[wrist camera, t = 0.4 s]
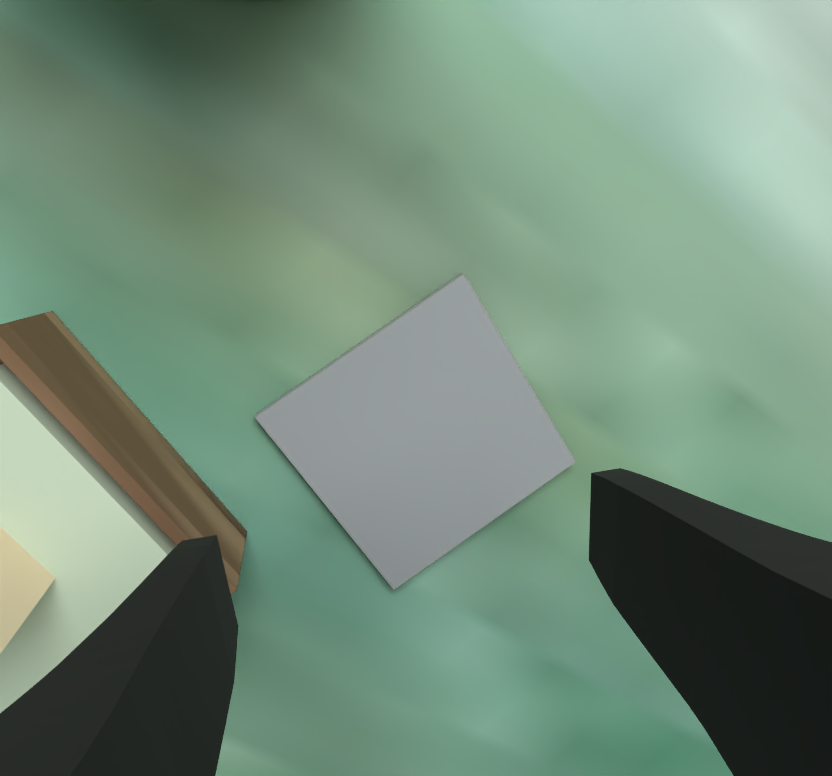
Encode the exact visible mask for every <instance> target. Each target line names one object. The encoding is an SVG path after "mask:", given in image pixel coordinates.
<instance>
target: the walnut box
mask: <svg viewBox="0 0 832 776" xmlns="http://www.w3.org/2000/svg"><path fill="white" fill-rule="evenodd" d="M2 364H5V365H6V366H7V367H8V368H9V369H10V370H11V371H12V372H13V373H14V374H15V375H16V376H17V378H18V379H19V380H20V381H21V382H22V383H23V384H24V385H25V386H26V387H27V388H28V389H29V390H30V391H31V392H32V393H33V394H34V395H35V397H36V398H37V399H38V400H39V401H40V402H41V403H42V404H43V405H44V406H45V407H46V408H47V409H48V410H49V411H50V412H51V413H52V414H53V415H54V417H55V418H56V419H57V420H58V421H59V422H60V423H61V424H62V425H63V426H64V427H65V428H66V429H67V430H68V431H69V432H70V433H71V434H72V436H73V437H74V438H75V439H76V440H77V441H78V442H79V443H80V444H81V445H82V446H83V447H84V448H85V449H86V450H87V451H88V452H89V453H90V455H91V456H92V457H93V458H94V459H95V460H96V461H97V462H98V463H99V464H100V465H101V466H102V467H103V468H104V469H105V470H106V471H107V472H108V473H109V475H110V476H111V477H112V478H113V479H114V480H115V481H116V482H117V483H118V484H119V485H120V486H121V487H122V488H123V489H124V490H125V491H126V492H127V494H128V495H129V496H130V497H131V498H132V499H133V500H134V501H135V502H136V503H137V504H138V505H139V506H140V507H141V508H142V509H143V510H144V511H145V512H146V514H147V515H148V516H149V517H150V518H151V519H152V520H153V521H154V522H155V523H156V524H157V525H158V526H159V527H160V528H161V529H162V530H163V531H164V533H165V534H166V535H167V536H168V537H169V538H170V539H171V540H172V541H173V542H174V543H175V544H176V545H178V544H179V543H180V542H181V541H183V540H189V539H195V538H201V537H207V536H213V535H217V538H218V542H219V546H220V551H221V555H222V559H223V564H224V568H225V572H226V576H227V581H228V585H229V589H230V594H232V593H233V592H235V591H236V590H237V587H238V581H239V575H240V570H241V564H242V558H243V552H244V546H245V541H246V535H247V531H246V530H245V529H244V527H243V526H242V525H241V524H240V523H239V522H238V521H237V519H236V518H235V517H234V516H233V515H232V514H231V513H230V512H229V510H228V509H227V508H226V507H225V506H224V505H223V504H222V502H221V501H220V500H219V499H218V498H217V497H216V496H215V495H214V493H213V492H212V491H211V490H210V489H209V488H208V487H207V485H206V484H205V483H204V482H203V481H202V480H201V479H200V478H199V476H198V475H197V474H196V473H195V472H194V471H193V470H192V468H191V467H190V466H189V465H188V464H187V463H186V462H185V461H184V459H183V458H182V457H181V456H180V455H179V454H178V453H177V451H176V450H175V449H174V448H173V447H172V446H171V445H170V444H169V442H168V441H167V440H166V439H165V438H164V437H163V436H162V435H161V433H160V432H159V431H158V430H157V429H156V428H155V427H154V425H153V424H152V423H151V422H150V421H149V420H148V419H147V418H146V416H145V415H144V414H143V413H142V412H141V411H140V410H139V408H138V407H137V406H136V405H135V404H134V403H133V402H132V401H131V399H130V398H129V397H128V396H127V395H126V394H125V393H124V391H123V390H122V389H121V388H120V387H119V386H118V385H117V384H116V382H115V381H114V380H113V379H112V378H111V377H110V376H109V374H108V373H107V372H106V371H105V370H104V369H103V368H102V367H101V365H100V364H99V363H98V362H97V361H96V360H95V359H94V358H93V356H92V355H91V354H90V353H89V352H88V351H87V350H86V348H85V347H84V346H83V345H82V344H81V343H80V342H79V341H78V339H77V338H76V337H75V336H74V335H73V334H72V333H71V331H70V330H69V329H68V328H67V327H66V326H65V325H64V324H63V322H62V321H61V320H60V319H59V318H58V317H57V316H56V314H55V313H54V312H53V311H51V312H47V313H43V314H39V315H35V316H32V317H28V318H24V319H20V320H16V321H13V322H9V323H5V324H1V325H0V365H2Z"/></svg>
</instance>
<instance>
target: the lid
mask: <svg viewBox="0 0 832 776" xmlns="http://www.w3.org/2000/svg"><path fill="white" fill-rule="evenodd" d="M176 546H177V545H176V544H175V543H174V542H173V541H172V540H171V539H170V538H169V537H168V536H167V535H166V534H165V533H164V531H163V530H162V529H161V528H160V527H159V526H158V525H157V524H156V523H155V522H154V521H153V520H152V519H151V518H150V517H149V516H148V515H147V514H146V512H145V511H144V510H143V509H142V508H141V507H140V506H139V505H138V504H137V503H136V502H135V501H134V500H133V499H132V498H131V497H130V496H129V495H128V494H127V492H126V491H125V490H124V489H123V488H122V487H121V486H120V485H119V484H118V483H117V482H116V481H115V480H114V479H113V478H112V477H111V476H110V475H109V473H108V472H107V471H106V470H105V469H104V468H103V467H102V466H101V465H100V464H99V463H98V462H97V461H96V460H95V459H94V458H93V457H92V456H91V455H90V453H89V452H88V451H87V450H86V449H85V448H84V447H83V446H82V445H81V444H80V443H79V442H78V441H77V440H76V439H75V438H74V437H73V436H72V434H71V433H70V432H69V431H68V430H67V429H66V428H65V427H64V426H63V425H62V424H61V423H60V422H59V421H58V420H57V419H56V418H55V417H54V415H53V414H52V413H51V412H50V411H49V410H48V409H47V408H46V407H45V406H44V405H43V404H42V403H41V402H40V401H39V400H38V399H37V398H36V397H35V395H34V394H33V393H32V392H31V391H30V390H29V389H28V388H27V387H26V386H25V385H24V384H23V383H22V382H21V381H20V380H19V379H18V378H17V376H16V375H15V374H14V373H13V372H12V371H11V370H10V369H9V368H8V367H7V366H6V365H5V364H2V365H0V713H1V712H2V711H4V710H5V709H6V708H7V707H8V706H10V705H11V704H12V703H13V702H15V701H16V700H17V699H18V698H20V697H21V696H22V695H23V694H24V693H26V692H27V691H28V690H29V689H30V688H32V687H33V686H34V685H35V684H36V683H37V682H39V681H40V680H41V679H42V678H43V677H44V676H46V675H47V674H48V673H49V672H50V671H51V670H52V669H54V668H55V667H56V666H57V665H58V664H59V663H60V662H61V661H62V660H63V659H64V658H65V657H67V656H68V655H69V654H70V653H71V652H72V651H73V650H74V649H75V648H76V647H77V646H78V645H79V644H80V643H81V642H82V641H83V640H84V639H86V638H87V637H88V636H89V635H90V634H91V633H92V632H93V631H94V630H95V629H96V628H97V627H98V626H99V625H100V624H101V623H102V622H103V621H104V620H106V619H107V618H108V617H109V616H110V615H111V614H112V613H113V612H114V611H115V609H116V608H117V607H118V606H119V605H120V604H121V603H122V602H123V601H124V600H125V599H126V598H127V597H128V596H129V595H130V594H131V593H132V592H133V591H134V590H135V589H136V588H137V587H138V586H139V585H140V584H141V583H142V582H143V580H144V579H145V578H146V577H147V576H148V575H149V574H150V573H151V572H152V571H153V570H154V569H155V568H156V567H157V566H158V564H159V563H160V562H161V561H162V560H163V559H164V558H165V557H166V556H167V555H168V554H169V553H170V552H171V551H172V550H173V549H174V548H175V547H176Z"/></svg>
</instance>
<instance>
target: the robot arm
mask: <svg viewBox="0 0 832 776" xmlns="http://www.w3.org/2000/svg"><path fill="white" fill-rule="evenodd" d="M589 561H590V563H591V565H592V567H593V569H594V570H595V572H596V574H597V576H598V578H599V580H600V582H601V584H602V585H603V587H604V589H605V590H606V592H607V594H608V596H609V597H610V599H611V601H612V603H613V604H614V606H615V607H616V608H617V610H618V611H619V613H620V614H621V615H622V617H623V618H624V619H625V621H626V622H627V624H628V625H629V626H630V628H631V629H632V630H633V632H634V633H635V634H636V636H637V637H638V638H639V640H640V641H641V642H642V644H643V645H644V646H645V648H646V649H647V650H648V652H649V653H650V654H651V656H652V657H653V658H654V660H655V661H656V662H657V664H658V665H659V666H660V668H661V669H662V670H663V672H664V673H665V674H666V676H667V677H668V678H669V680H670V681H671V682H672V684H673V685H674V686H675V688H676V689H677V690H678V692H679V693H680V694H681V696H682V697H683V698H684V700H685V701H686V702H687V704H688V705H689V707H690V708H691V710H692V711H693V712H694V714H695V715H696V717H697V718H698V720H699V721H700V723H701V724H702V725H703V727H704V728H705V730H706V731H707V733H708V735H709V736H710V738H711V740H712V741H713V743H714V745H715V746H716V748H717V749H718V751H719V753H720V754H721V756H722V758H723V759H724V761H725V762H726V764H727V766H728V767H729V769H730V771H731V772H732V774H733V775H734V776H832V542H828V541H824V540H821V539H817V538H814V537H810V536H807V535H804V534H801V533H797V532H794V531H791V530H788V529H785V528H782V527H779V526H776V525H773V524H770V523H767V522H765V521H762V520H759V519H756V518H753V517H750V516H747V515H745V514H742V513H739V512H736V511H734V510H731V509H728V508H726V507H723V506H720V505H718V504H715V503H713V502H710V501H707V500H705V499H702V498H700V497H697V496H695V495H692V494H690V493H687V492H684V491H682V490H679V489H677V488H674V487H672V486H669V485H667V484H664V483H662V482H659V481H656V480H654V479H651V478H648V477H646V476H643V475H640V474H637V473H634V472H631V471H628V470H624V469H621V468H619V469H613V470H607V471H601V472H595V473H591V503H590V538H589ZM237 634H238V624H237V619H236V615H235V611H234V607H233V602H232V598H231V594H230V589H229V585H228V581H227V576H226V572H225V568H224V564H223V559H222V555H221V551H220V546H219V542H218V538H217V535H213V536H207V537H201V538H195V539H189V540H183V541H181V542H180V543H179V544H178V545H177V546H176V547H175V548H174V549H173V550H172V551H171V552H170V553H169V554H168V555H167V556H166V557H165V558H164V559H163V560H162V561H161V562H160V563H159V564H158V566H157V567H156V568H155V569H154V570H153V571H152V572H151V573H150V574H149V575H148V576H147V577H146V578H145V579H144V580H143V582H142V583H141V584H140V585H139V586H138V587H137V588H136V589H135V590H134V591H133V592H132V593H131V594H130V595H129V596H128V597H127V598H126V599H125V600H124V601H123V602H122V603H121V604H120V605H119V606H118V607H117V608H116V609H115V611H114V612H113V613H112V614H111V615H110V616H109V617H108V618H107V619H106V620H104V621H103V622H102V623H101V624H100V625H99V626H98V627H97V628H96V629H95V630H94V631H93V632H92V633H91V634H90V635H89V636H88V637H87V638H86V639H84V640H83V641H82V642H81V643H80V644H79V645H78V646H77V647H76V648H75V649H74V650H73V651H72V652H71V653H70V654H69V655H68V656H67V657H65V658H64V659H63V660H62V661H61V662H60V663H59V664H58V665H57V666H56V667H55V668H54V669H52V670H51V671H50V672H49V673H48V674H47V675H46V676H44V677H43V678H42V679H41V680H40V681H39V682H37V683H36V684H35V685H34V686H33V687H32V688H30V689H29V690H28V691H27V692H26V693H24V694H23V695H22V696H21V697H20V698H18V699H17V700H16V701H15V702H13V703H12V704H11V705H10V706H8V707H7V708H6V709H5V710H4V711H2V712H1V713H0V776H215V774H216V769H217V764H218V759H219V754H220V749H221V744H222V739H223V734H224V729H225V724H226V719H227V714H228V709H229V704H230V699H231V694H232V688H233V683H234V675H235V663H236V650H237Z"/></svg>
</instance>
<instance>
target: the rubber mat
mask: <svg viewBox="0 0 832 776" xmlns="http://www.w3.org/2000/svg"><path fill="white" fill-rule="evenodd" d="M255 418H256V419H257V421H258V422H259V423H260V424H261V426H262V427H263V428H264V429H265V431H266V432H267V433H268V434H269V436H270V437H271V438H272V439H273V441H274V442H275V443H276V444H277V446H278V447H279V448H280V449H281V451H282V452H283V453H284V454H285V455H286V457H287V458H288V459H289V460H290V462H291V463H292V464H293V465H294V467H295V468H296V469H297V470H298V472H299V473H300V474H301V475H302V477H303V478H304V479H305V480H306V482H307V483H308V484H309V485H310V487H311V488H312V489H313V490H314V492H315V493H316V494H317V495H318V496H319V498H320V499H321V500H322V501H323V503H324V504H325V505H326V506H327V508H328V509H329V510H330V511H331V513H332V514H333V515H334V516H335V518H336V519H337V520H338V521H339V523H340V524H341V525H342V526H343V528H344V529H345V530H346V531H347V532H348V534H349V535H350V536H351V537H352V539H353V540H354V541H355V542H356V544H357V545H358V546H359V547H360V549H361V550H362V551H363V552H364V554H365V555H366V556H367V557H368V559H369V560H370V561H371V562H372V564H373V565H374V566H375V567H376V569H377V570H378V571H379V572H380V573H381V575H382V576H383V577H384V578H385V580H386V581H387V582H388V583H389V585H390V586H391V587H392V588H393V590H395V589H396V588H397V587H399V586H400V585H402V584H403V583H405V582H406V581H407V580H409V579H410V578H412V577H413V576H414V575H416V574H417V573H419V572H420V571H422V570H423V569H424V568H426V567H427V566H429V565H430V564H432V563H433V562H434V561H436V560H437V559H439V558H440V557H441V556H443V555H444V554H446V553H447V552H449V551H450V550H451V549H453V548H454V547H456V546H457V545H459V544H460V543H461V542H463V541H464V540H466V539H467V538H468V537H470V536H471V535H473V534H474V533H476V532H477V531H478V530H480V529H481V528H483V527H484V526H486V525H487V524H488V523H490V522H491V521H493V520H494V519H495V518H497V517H498V516H500V515H501V514H503V513H504V512H505V511H507V510H508V509H510V508H511V507H512V506H514V505H515V504H517V503H518V502H520V501H521V500H522V499H524V498H525V497H527V496H528V495H530V494H531V493H532V492H534V491H535V490H537V489H538V488H539V487H541V486H542V485H544V484H545V483H547V482H548V481H549V480H551V479H552V478H554V477H555V476H557V475H558V474H559V473H561V472H562V471H564V470H565V469H566V468H568V467H569V466H571V465H572V464H574V463H575V460H574V458H573V457H572V455H571V453H570V451H569V450H568V448H567V446H566V445H565V443H564V441H563V440H562V438H561V436H560V435H559V433H558V431H557V430H556V428H555V426H554V424H553V423H552V421H551V419H550V418H549V416H548V414H547V413H546V411H545V409H544V408H543V406H542V404H541V403H540V401H539V399H538V398H537V396H536V394H535V392H534V391H533V389H532V387H531V386H530V384H529V382H528V381H527V379H526V377H525V376H524V374H523V372H522V371H521V369H520V367H519V366H518V364H517V362H516V360H515V359H514V357H513V355H512V354H511V352H510V350H509V349H508V347H507V345H506V344H505V342H504V340H503V339H502V337H501V335H500V333H499V332H498V330H497V328H496V327H495V325H494V323H493V322H492V320H491V318H490V317H489V315H488V313H487V312H486V310H485V308H484V307H483V305H482V303H481V301H480V300H479V298H478V296H477V295H476V293H475V291H474V290H473V288H472V286H471V285H470V283H469V281H468V280H467V278H466V276H465V275H464V274H460V275H458V276H457V277H455V278H454V279H452V280H451V281H449V282H448V283H447V284H445V285H444V286H442V287H441V288H439V289H438V290H436V291H435V292H433V293H432V294H431V295H429V296H428V297H426V298H425V299H423V300H422V301H420V302H419V303H417V304H416V305H414V306H413V307H412V308H410V309H409V310H407V311H406V312H404V313H403V314H401V315H400V316H398V317H397V318H395V319H394V320H393V321H391V322H390V323H388V324H387V325H385V326H384V327H382V328H381V329H379V330H378V331H376V332H375V333H374V334H372V335H371V336H369V337H368V338H366V339H365V340H363V341H362V342H360V343H359V344H357V345H356V346H355V347H353V348H352V349H350V350H349V351H347V352H346V353H344V354H343V355H341V356H340V357H339V358H337V359H336V360H334V361H333V362H331V363H330V364H328V365H327V366H325V367H324V368H322V369H321V370H320V371H318V372H317V373H315V374H314V375H312V376H311V377H309V378H308V379H306V380H305V381H303V382H302V383H301V384H299V385H298V386H296V387H295V388H293V389H292V390H290V391H289V392H287V393H286V394H284V395H283V396H282V397H280V398H279V399H277V400H276V401H274V402H273V403H271V404H270V405H268V406H267V407H265V408H264V409H263V410H261V411H260V412H258V413H257V414H256V415H255Z"/></svg>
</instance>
